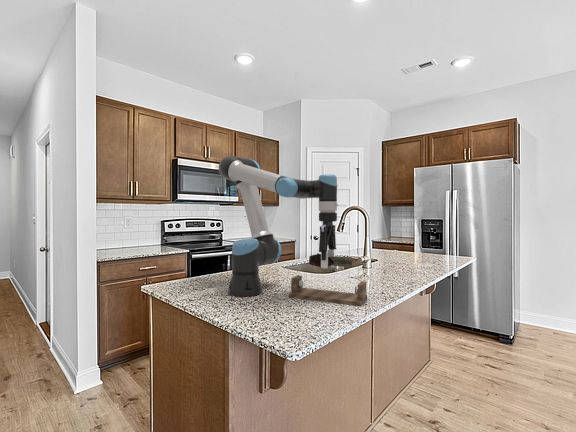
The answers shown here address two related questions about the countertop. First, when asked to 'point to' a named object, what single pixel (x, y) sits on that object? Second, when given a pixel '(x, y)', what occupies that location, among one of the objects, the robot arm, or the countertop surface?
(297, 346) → the countertop surface
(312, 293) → the shaft stand
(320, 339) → the countertop surface
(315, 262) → the lumpy brown club
